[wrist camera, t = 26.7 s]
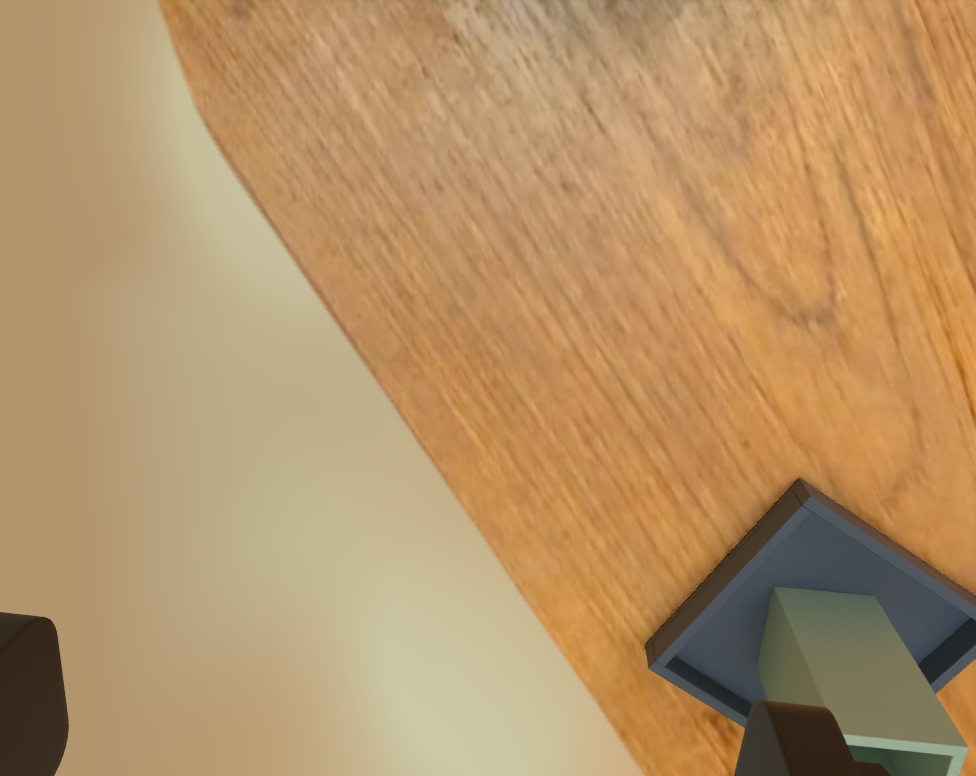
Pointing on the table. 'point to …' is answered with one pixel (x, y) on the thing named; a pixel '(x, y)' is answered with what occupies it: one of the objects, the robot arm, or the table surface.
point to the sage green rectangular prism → (858, 680)
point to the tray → (814, 566)
